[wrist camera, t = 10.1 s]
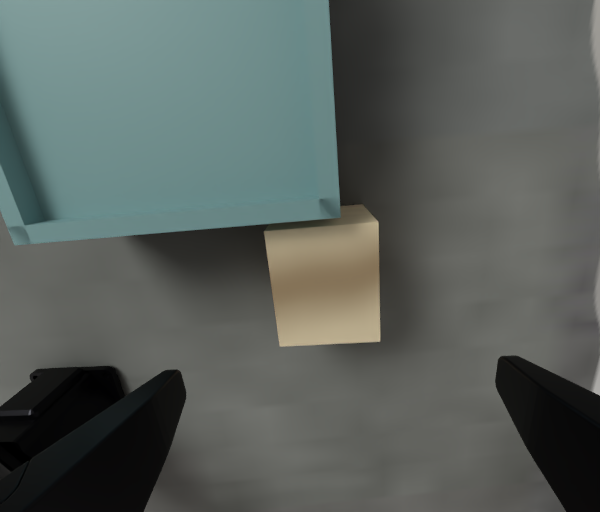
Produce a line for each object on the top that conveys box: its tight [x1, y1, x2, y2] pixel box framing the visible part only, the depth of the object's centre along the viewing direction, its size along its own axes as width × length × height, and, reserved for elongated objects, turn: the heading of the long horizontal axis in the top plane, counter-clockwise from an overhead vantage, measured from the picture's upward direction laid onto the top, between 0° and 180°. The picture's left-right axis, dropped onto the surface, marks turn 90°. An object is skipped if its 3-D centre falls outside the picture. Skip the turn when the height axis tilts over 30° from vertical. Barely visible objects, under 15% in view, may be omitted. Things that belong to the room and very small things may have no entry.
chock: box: [264, 204, 380, 347], centre depth 16 cm, size 6×5×5 cm
